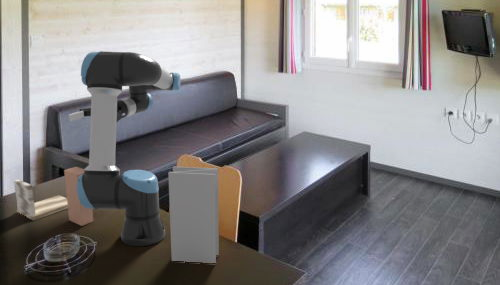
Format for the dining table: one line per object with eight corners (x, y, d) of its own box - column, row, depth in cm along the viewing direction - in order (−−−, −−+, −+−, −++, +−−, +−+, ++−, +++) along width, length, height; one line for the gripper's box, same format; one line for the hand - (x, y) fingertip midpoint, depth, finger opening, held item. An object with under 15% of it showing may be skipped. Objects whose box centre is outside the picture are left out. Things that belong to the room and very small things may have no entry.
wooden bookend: (75, 205, 191) (72, 174, 187) (33, 220, 177) (29, 186, 173) (59, 198, 198) (55, 167, 194) (17, 212, 184) (12, 179, 180)
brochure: (218, 255, 154) (218, 168, 146) (215, 264, 148) (215, 174, 140) (176, 253, 155) (173, 166, 147) (171, 261, 150) (168, 172, 142)
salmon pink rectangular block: (93, 221, 177) (89, 171, 172) (81, 225, 173) (77, 174, 168) (80, 215, 182) (76, 166, 176) (69, 220, 178) (64, 169, 172)
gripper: (145, 121, 194) (105, 135, 177) (102, 112, 206) (61, 124, 189) (143, 104, 191) (103, 116, 174) (101, 95, 203) (59, 106, 186)
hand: (81, 120), depth 181 cm, fingers open, 13 cm apart
